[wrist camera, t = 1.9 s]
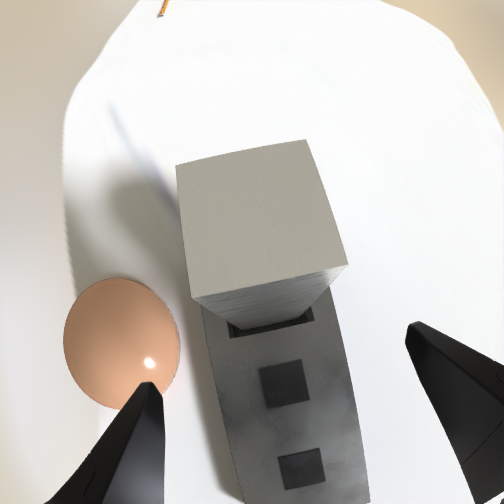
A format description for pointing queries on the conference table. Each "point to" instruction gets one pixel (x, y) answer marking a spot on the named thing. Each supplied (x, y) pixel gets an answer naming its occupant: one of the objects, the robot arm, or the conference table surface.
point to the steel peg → (258, 233)
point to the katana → (165, 7)
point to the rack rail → (290, 410)
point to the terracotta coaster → (120, 341)
